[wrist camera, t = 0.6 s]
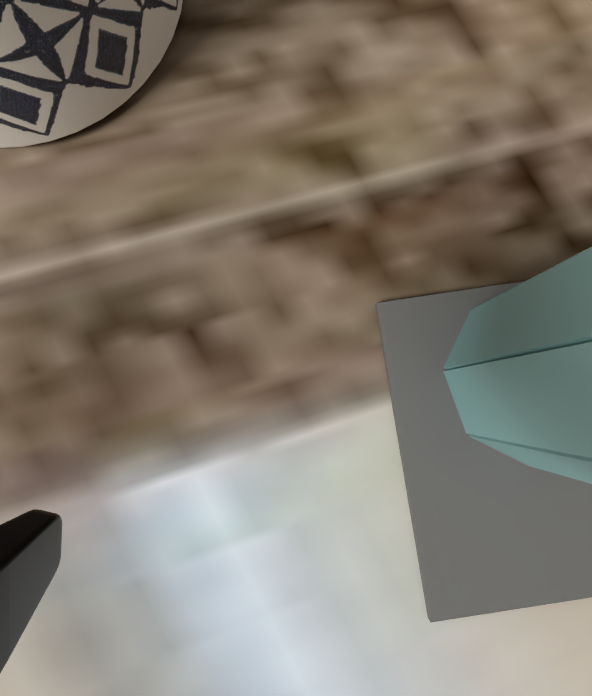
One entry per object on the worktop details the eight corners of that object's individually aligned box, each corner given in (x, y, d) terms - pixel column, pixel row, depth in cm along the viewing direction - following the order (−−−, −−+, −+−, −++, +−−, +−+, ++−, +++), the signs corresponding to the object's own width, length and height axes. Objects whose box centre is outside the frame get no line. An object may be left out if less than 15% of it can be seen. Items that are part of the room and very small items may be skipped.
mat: (670, 580, 20) (677, 583, 20) (427, 617, 20) (430, 622, 20) (602, 271, 21) (608, 268, 21) (375, 304, 21) (376, 302, 21)
